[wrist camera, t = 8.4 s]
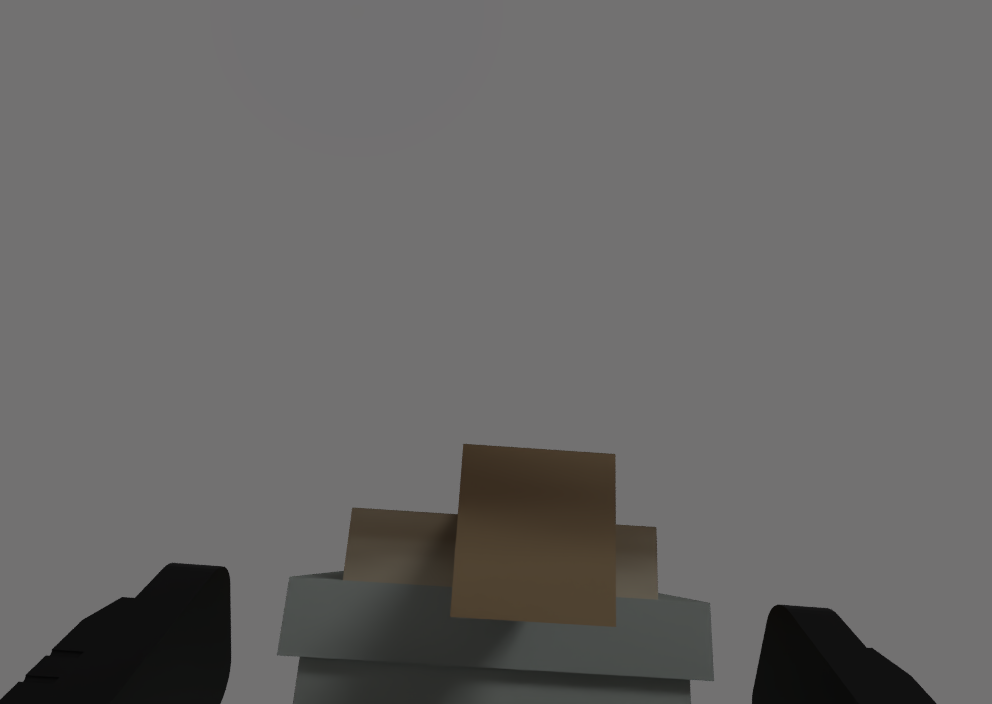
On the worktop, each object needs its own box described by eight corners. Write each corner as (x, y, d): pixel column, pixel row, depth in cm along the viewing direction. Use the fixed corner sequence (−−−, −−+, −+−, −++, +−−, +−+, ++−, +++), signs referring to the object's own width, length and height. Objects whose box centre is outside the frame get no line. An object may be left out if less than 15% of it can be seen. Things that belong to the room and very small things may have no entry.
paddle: (841, 641, 9) (821, 467, 10) (218, 602, 9) (251, 430, 9) (583, 582, 29) (583, 528, 29) (392, 570, 28) (398, 516, 29)
